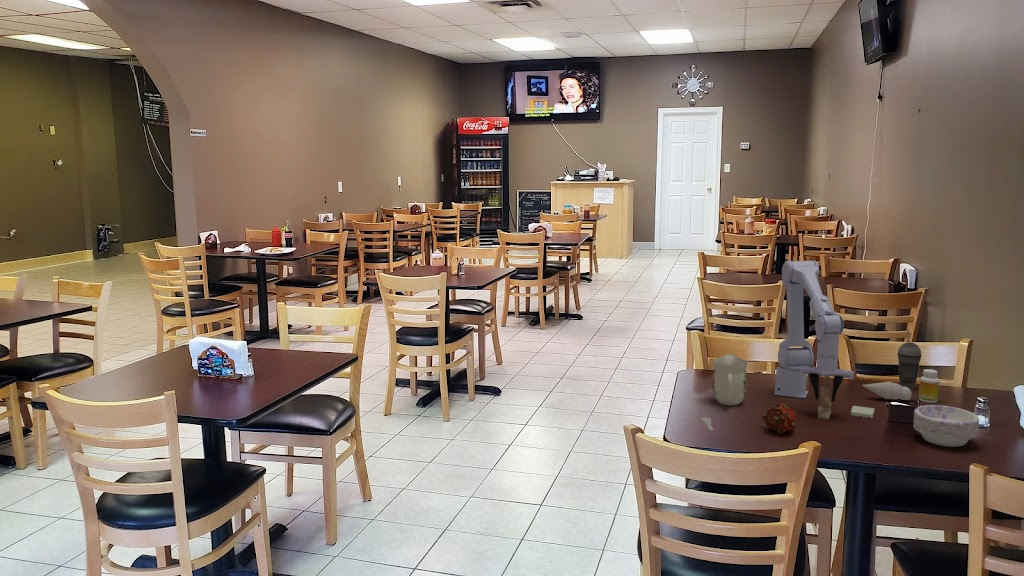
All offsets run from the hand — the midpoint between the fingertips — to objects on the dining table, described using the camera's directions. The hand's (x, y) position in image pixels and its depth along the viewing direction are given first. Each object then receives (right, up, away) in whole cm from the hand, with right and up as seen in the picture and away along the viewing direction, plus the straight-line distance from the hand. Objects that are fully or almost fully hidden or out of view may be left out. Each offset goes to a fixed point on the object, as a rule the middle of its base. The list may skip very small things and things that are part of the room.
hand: (825, 399), depth 228 cm
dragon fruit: (-18, -7, -12) cm, 23 cm away
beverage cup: (+39, -1, +29) cm, 49 cm away
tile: (+10, -4, +4) cm, 11 cm away
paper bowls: (+23, -8, -22) cm, 33 cm away
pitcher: (-25, -3, +13) cm, 28 cm away
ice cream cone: (+26, -3, +15) cm, 30 cm away
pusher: (0, -5, +1) cm, 5 cm away
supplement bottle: (+39, -3, +14) cm, 41 cm away
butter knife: (-37, -8, -12) cm, 40 cm away
